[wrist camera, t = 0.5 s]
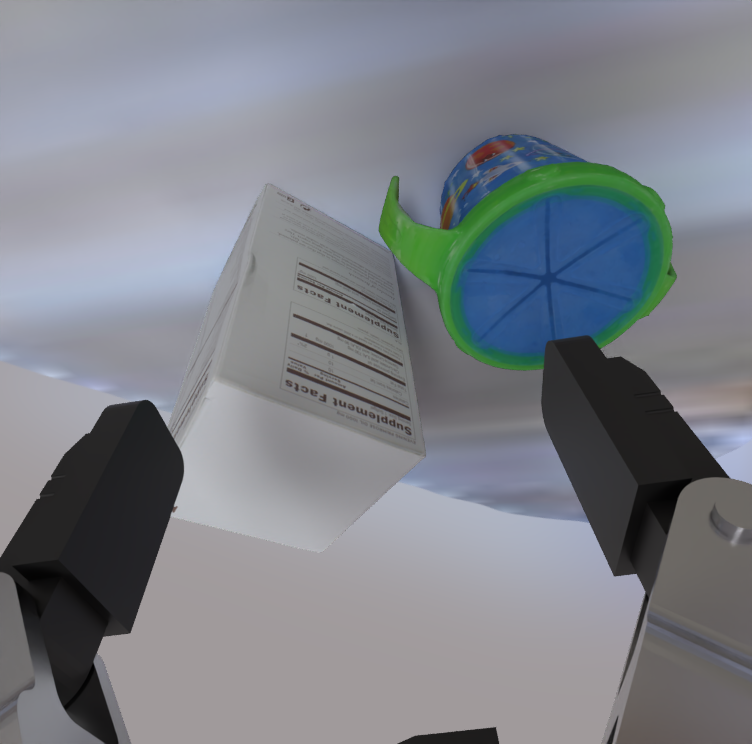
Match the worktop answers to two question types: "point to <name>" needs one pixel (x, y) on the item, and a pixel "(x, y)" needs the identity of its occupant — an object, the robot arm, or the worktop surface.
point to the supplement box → (297, 383)
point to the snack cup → (536, 250)
